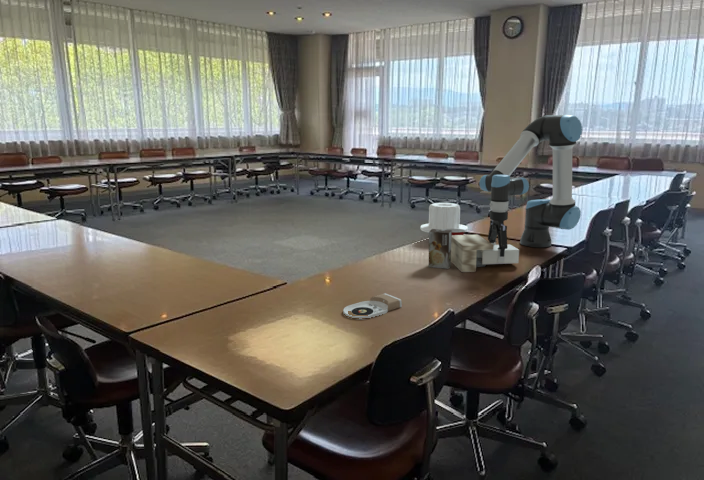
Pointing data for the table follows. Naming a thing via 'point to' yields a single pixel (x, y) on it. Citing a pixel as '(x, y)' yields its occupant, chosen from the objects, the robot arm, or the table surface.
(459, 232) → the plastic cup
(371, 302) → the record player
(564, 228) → the robot arm
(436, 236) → the coffee box
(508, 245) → the white block
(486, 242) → the beige boxy piece
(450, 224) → the ribbed cylinder on disc
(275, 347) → the table surface
